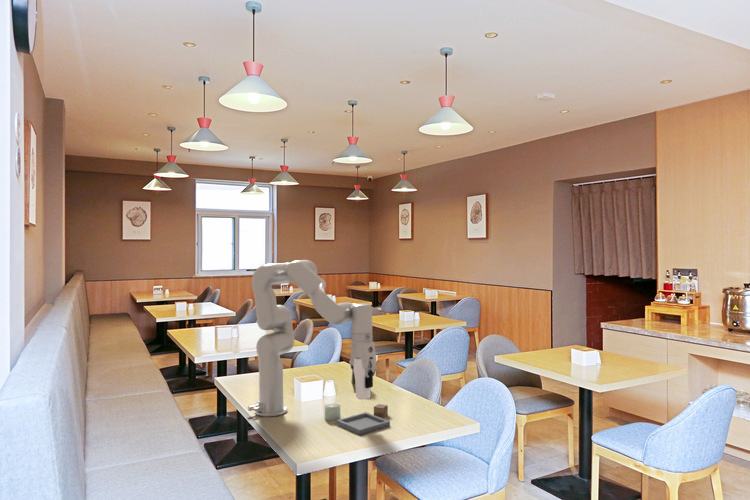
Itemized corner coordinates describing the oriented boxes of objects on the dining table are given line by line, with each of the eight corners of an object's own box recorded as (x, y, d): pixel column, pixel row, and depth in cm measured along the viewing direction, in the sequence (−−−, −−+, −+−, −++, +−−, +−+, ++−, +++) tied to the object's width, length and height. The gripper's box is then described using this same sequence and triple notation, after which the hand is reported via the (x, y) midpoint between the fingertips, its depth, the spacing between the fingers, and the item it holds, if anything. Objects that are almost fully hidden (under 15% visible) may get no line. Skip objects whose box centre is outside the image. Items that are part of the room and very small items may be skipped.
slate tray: (359, 435, 176) (359, 430, 176) (336, 424, 187) (336, 420, 187) (389, 426, 185) (389, 421, 185) (366, 416, 196) (366, 412, 196)
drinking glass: (370, 400, 182) (369, 359, 182) (352, 400, 183) (351, 359, 184) (374, 395, 189) (373, 355, 189) (356, 394, 190) (356, 355, 190)
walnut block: (382, 418, 194) (382, 408, 194) (373, 416, 196) (373, 406, 196) (387, 415, 198) (387, 405, 198) (378, 413, 200) (378, 403, 200)
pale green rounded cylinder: (330, 422, 190) (330, 409, 190) (321, 418, 195) (321, 405, 195) (343, 418, 194) (343, 406, 194) (334, 415, 198) (334, 402, 198)
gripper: (385, 338, 182) (385, 388, 182) (356, 333, 195) (356, 379, 195) (369, 341, 177) (369, 392, 177) (340, 335, 190) (341, 383, 190)
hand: (363, 385), depth 186 cm, fingers closed on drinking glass, 6 cm apart
